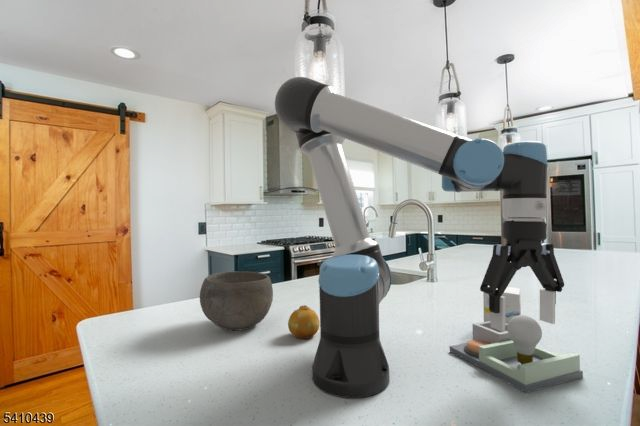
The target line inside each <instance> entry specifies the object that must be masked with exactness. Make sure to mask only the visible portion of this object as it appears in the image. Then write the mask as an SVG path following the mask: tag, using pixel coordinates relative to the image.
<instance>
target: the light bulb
mask: <svg viewBox="0 0 640 426" xmlns="http://www.w3.org/2000/svg"><path fill="white" fill-rule="evenodd" d="M507 331H508V334H509V336H510V338H511V339H512V341H513V342H514V344H515V348H516V350H517V359H518V362H520V363H521V364H526V363H530V362H533V353H534V351H535V347H536V346H537V345H538V344H539V343H540V341H541V340H542V335H543V331H542V327H541V326H540V324H539V322H538V321H537V320H536V319H534V318H532V317H531V316H529V315H525V314H524V315H523V314H521V315H518V316H515V317H513V318H512V319H511V320H510V321H509V323H508V326H507Z"/></svg>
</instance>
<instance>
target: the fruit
mask: <svg viewBox="0 0 640 426" xmlns="http://www.w3.org/2000/svg"><path fill="white" fill-rule="evenodd" d="M287 327H288V330H289V333H291V335H292V336H294V337H295V338H298V339H310V338H311V337H315V335H316V334H317V333H318V331H319V329H320V317H319V315H318V314H317V313H316V311H315V310H313V309H312V308H311V307H309V306H308V305H304V304H303V305H300V306H299V308H298V309H295V310H293V312H291V314H290V316H289V318H288V323H287Z"/></svg>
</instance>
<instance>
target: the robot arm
mask: <svg viewBox="0 0 640 426" xmlns="http://www.w3.org/2000/svg"><path fill="white" fill-rule="evenodd" d="M274 110H275V113H276V114H275V115H276V116H277V118H278V119H279V121H280V122H281V123H282V124H283V126H285V127H286V128H288V129H289V130H291V131H293V132H294V134H295V135H296V139H297V143H298V146H299V149H300V151H301V153H303V154H304V155H306V156H307V157H308V160H309V162H310V165H311V168H312V172H313V176H314V179H315V182H316V185H317V190H318V192H319V193H318V194H319V196H320V199H321V202H322V207H323V210H324V212H325V216H326V220H327V223H328V226H329V229H330V233H331V236H332V239H333V244H334V246H335V249H334V251H333V253H332V255H331V257H329V258H327V259H325V260H324V261H322V263H321V264H320V267H319V276H318V280H317V281H318V285H319V286H318V288H319V290H318V291H319V329H320V332H319V333H320V338H319V342H318V345H317V348H316V353H315V355H314V358H313V361H312V365H311V371H312V372H311V374H312V375H311V377H312V378H311V379H312V382H313V384H314V385H315V387H317V388H318V389H319V390H320V391H323V392H325V393H327V394H330V395H333V396H336V397H342V398H364V397H371V396H373V395H376V394H378V393H379V394H380V392H382V391H384V390H385V389H386V388H387V387H388V385H389V384H390V365H389V363H388V360H387V357H386V354H385V352H384V348H383V346H382V342H381V338H380V337H381V336H380V303H381V302H382V301H383V300H384V298H385V297H386V296H387V295H388V293H389V292H390V289H391V286H392V276H393V275H392V272H391V268H390V266H389V264H388V262H387V261H386V260H385V258H384V257H383V254H382V251H381V248H380V245H379V242H378V241H375V240H373V239H372V238H371V237H370V234H369V230H368V227H367V224H366V221H365V218H364V215H363V212H362V207H361V205H360V202H359V198H358V195H357V193H356V192H357V191H356V188H355V186H354V182H353V178H352V176H351V171H350V169H349V166H348V163H347V160H346V156H345V153H344V150H343V147H342V145H343V144H344V141H345V139H347V140H349V141H352V142H354V143H356V144H359V145H362V146H365V147H367V148H369V149H373V150H375V151H377V152H380V153H383V154H385V155H389V156H391V157H392V158H396V159H398V160H401V161H404V162H406V163H409V164H411V165H414V166H417V167H419V168H422V169H425V170H428V171H430V172H432V173H435V174H438V175H441V188H442V190H443V192H454V193H463V192H465V193H466V192H502V218H503V219H505V220H503V222H502V237H503V239H504V240H506V244H498V243H496V244H494V245H493V246H492V256H491V257H490V260H489V263H488V266H487V268H486V270H485V273H484V277H483V279H482V282H481V284H480V289H479V291H480V292H485V293H487V294H488V295H489V310H490V312H491V327H492V328H495V329H497V330H500V331H502V332H503V331H505V312H506V297H503V296H502V294H503V293H504V291H505V289H506V288H507V287H509V284H510V283H511V281H512V279H514V276H515V275H516V273H517V271H519V270H521V269H522V268H526V267H529V268H530V269H531V271H532V272H533V273H534V275H535V277H536V279H537V280H538V281H539V283H540V285H541V286H542V288H540V289H539V321H541V322H545V323H547V324H551V325H554V324H556V304H557V300H556V299H557V293H561V292H562V291H563V288H564V287H565V282H564V279H563V276H562V273H561V270H560V267H559V264H558V261H557V259H556V256H555V249H554V244H553V243H547V242H543V241H545V240H547V238H548V236H547V233H548V232H547V231H548V229H547V227H548V225H547V224H548V223H546V221H544V219H546V218H547V198H548V196H547V185H548V184H547V183H548V167H549V163H548V155H547V154H548V153H547V146H546V145H545V144H544V143H543V142H542V141H534V140H527V141H521V142H520V141H519V142H512V143H508V144H506V145H505V146H504V147H503V148H501V147H500V146H499V145H498V143H496V142H495V141H494V140H490V139H487V138H475V139H471V138H468V137H464V136H461V135H458V134H455V133H453V132H450V131H446V130H443V129H441V128H438V127H436V126H431V125H428V124H426V123H423V122H420V121H417V120H414V119H411V118H408V117H405V116H402V115H400V114H398V113H394V112H391V111H389V110H386V109H382V108H379V107H376V106H373V105H370V104H368V103H365V102H362V101H358V100H356V99H352V98H349V97H347V96H343V95H341V94H338V93H336V90H335V89H334V87H333V86H331V85H328V84H325V83H323V82H320V81H317V80H314V79H311V78H309V77H305V76H296V77H292V78H289V79H288V80H286V81H284V83H282V84H281V85H280V87H279V88H278V90H277V92H276V95H275V98H274ZM502 149H503V150H502ZM488 286H489V287H488ZM497 288H498V289H497ZM496 289H497V290H496Z"/></svg>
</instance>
